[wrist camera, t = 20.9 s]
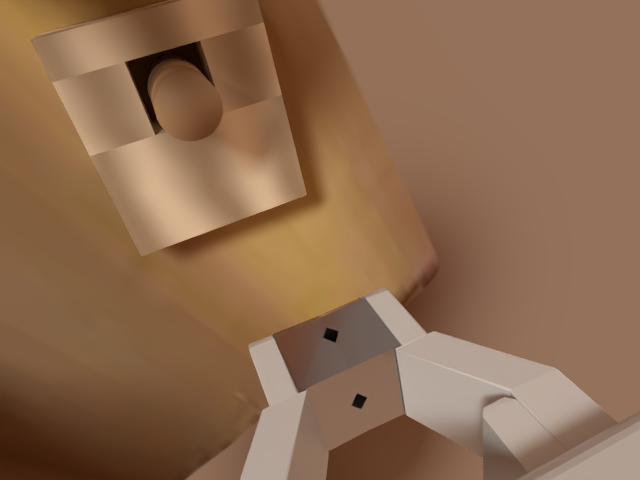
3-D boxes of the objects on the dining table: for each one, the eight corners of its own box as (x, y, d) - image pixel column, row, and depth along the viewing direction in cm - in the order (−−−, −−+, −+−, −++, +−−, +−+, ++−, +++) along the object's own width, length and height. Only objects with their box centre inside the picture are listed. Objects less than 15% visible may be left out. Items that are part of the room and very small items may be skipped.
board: (139, 233, 40) (141, 256, 36) (39, 33, 31) (30, 40, 28) (292, 178, 42) (307, 194, 39) (240, -19, 34) (253, -19, 30)
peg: (156, 111, 36) (169, 150, 28) (135, 59, 34) (142, 84, 25) (205, 96, 37) (232, 130, 28) (188, 44, 34) (211, 64, 26)
